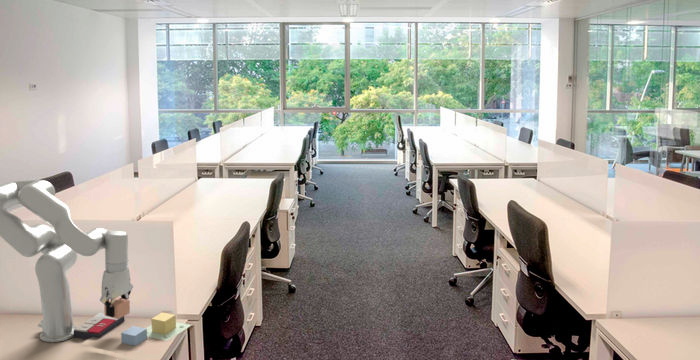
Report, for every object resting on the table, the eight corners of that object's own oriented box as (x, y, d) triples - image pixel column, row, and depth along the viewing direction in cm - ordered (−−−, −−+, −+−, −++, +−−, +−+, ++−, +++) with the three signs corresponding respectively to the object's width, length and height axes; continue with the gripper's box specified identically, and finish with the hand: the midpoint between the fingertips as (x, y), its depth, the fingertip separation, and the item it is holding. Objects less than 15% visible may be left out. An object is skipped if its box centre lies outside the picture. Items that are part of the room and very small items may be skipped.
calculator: (72, 329, 216) (99, 310, 230) (73, 339, 217) (100, 320, 231) (98, 332, 213) (124, 313, 227) (100, 343, 214) (125, 324, 228)
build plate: (135, 337, 217) (135, 333, 217) (161, 321, 230) (161, 318, 229) (167, 344, 212) (167, 340, 211) (191, 328, 224) (191, 324, 224)
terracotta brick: (104, 315, 216) (104, 302, 215) (116, 309, 221) (116, 296, 220) (117, 319, 214) (117, 305, 213) (129, 312, 219) (129, 300, 218)
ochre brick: (152, 331, 219) (151, 318, 218) (162, 324, 224) (162, 312, 223) (165, 334, 217) (164, 321, 216) (176, 327, 222) (175, 315, 221)
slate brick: (122, 346, 210) (121, 333, 209) (133, 338, 216) (132, 326, 215) (135, 349, 208) (135, 335, 207) (147, 341, 214) (146, 328, 213)
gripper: (125, 256, 223) (125, 302, 226) (90, 270, 207) (90, 319, 211) (141, 260, 220) (141, 306, 224) (107, 274, 204) (107, 324, 208)
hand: (117, 312), depth 217 cm, fingers closed on terracotta brick, 6 cm apart
